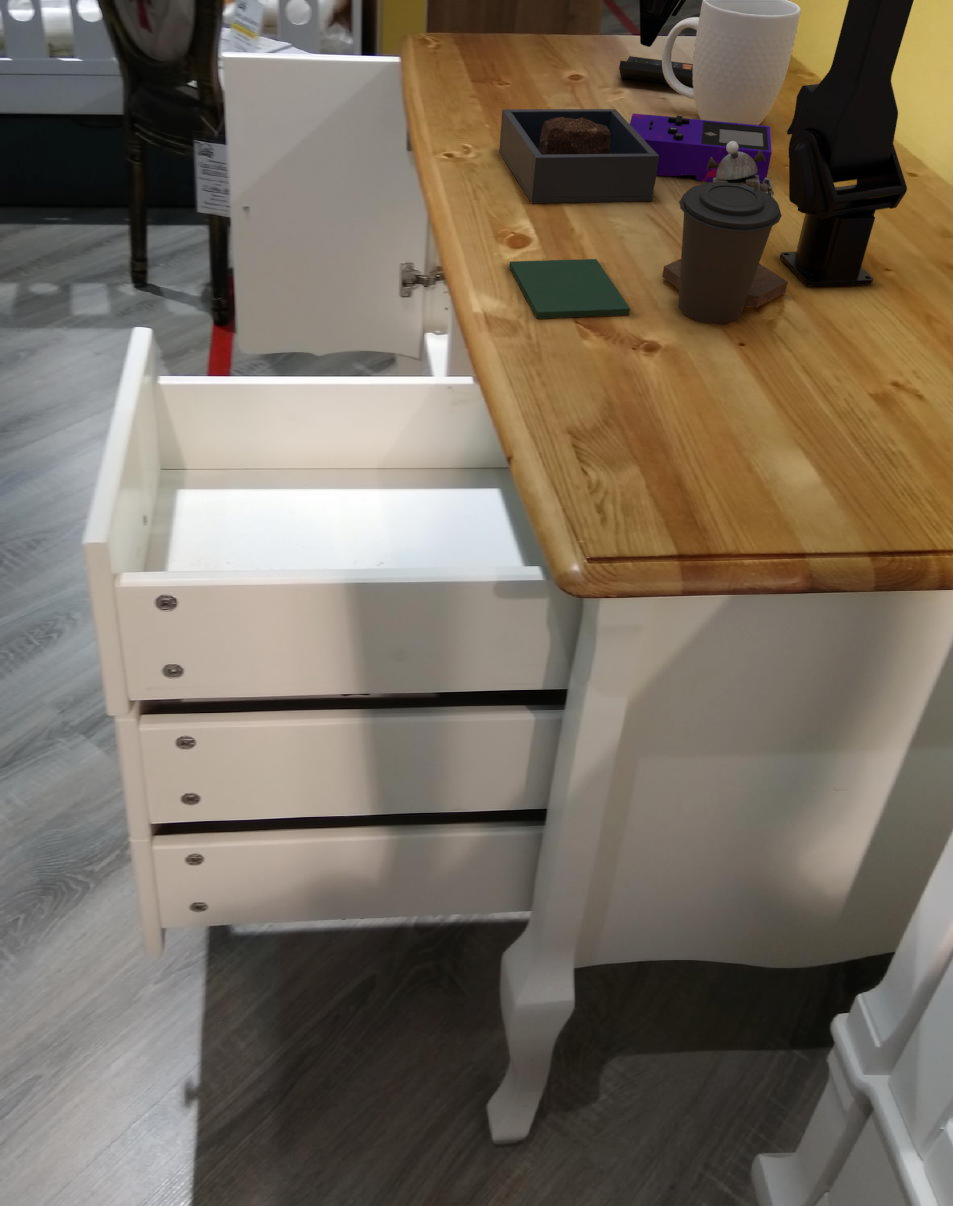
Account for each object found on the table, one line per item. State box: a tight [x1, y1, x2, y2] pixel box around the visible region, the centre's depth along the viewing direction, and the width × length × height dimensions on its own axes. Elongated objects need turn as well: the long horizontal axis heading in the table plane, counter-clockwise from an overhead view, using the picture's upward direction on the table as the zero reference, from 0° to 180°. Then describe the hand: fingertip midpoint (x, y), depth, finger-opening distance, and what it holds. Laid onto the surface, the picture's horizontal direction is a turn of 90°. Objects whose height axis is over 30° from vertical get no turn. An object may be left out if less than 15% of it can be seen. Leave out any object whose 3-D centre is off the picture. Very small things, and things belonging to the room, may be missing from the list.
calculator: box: [618, 55, 693, 88], centre depth 150 cm, size 9×12×3 cm
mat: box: [508, 258, 631, 320], centre depth 100 cm, size 10×8×1 cm
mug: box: [661, 0, 802, 125], centre depth 135 cm, size 15×11×13 cm
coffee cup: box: [677, 182, 783, 325], centre depth 95 cm, size 8×8×10 cm
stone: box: [538, 117, 611, 155], centre depth 120 cm, size 8×3×5 cm, turn 99°
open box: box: [498, 108, 659, 204], centre depth 120 cm, size 15×13×4 cm
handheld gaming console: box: [629, 113, 773, 185], centre depth 126 cm, size 9×5×15 cm
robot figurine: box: [661, 141, 789, 308], centre depth 99 cm, size 11×9×12 cm
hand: (658, 29), depth 119 cm, fingers open, 9 cm apart
